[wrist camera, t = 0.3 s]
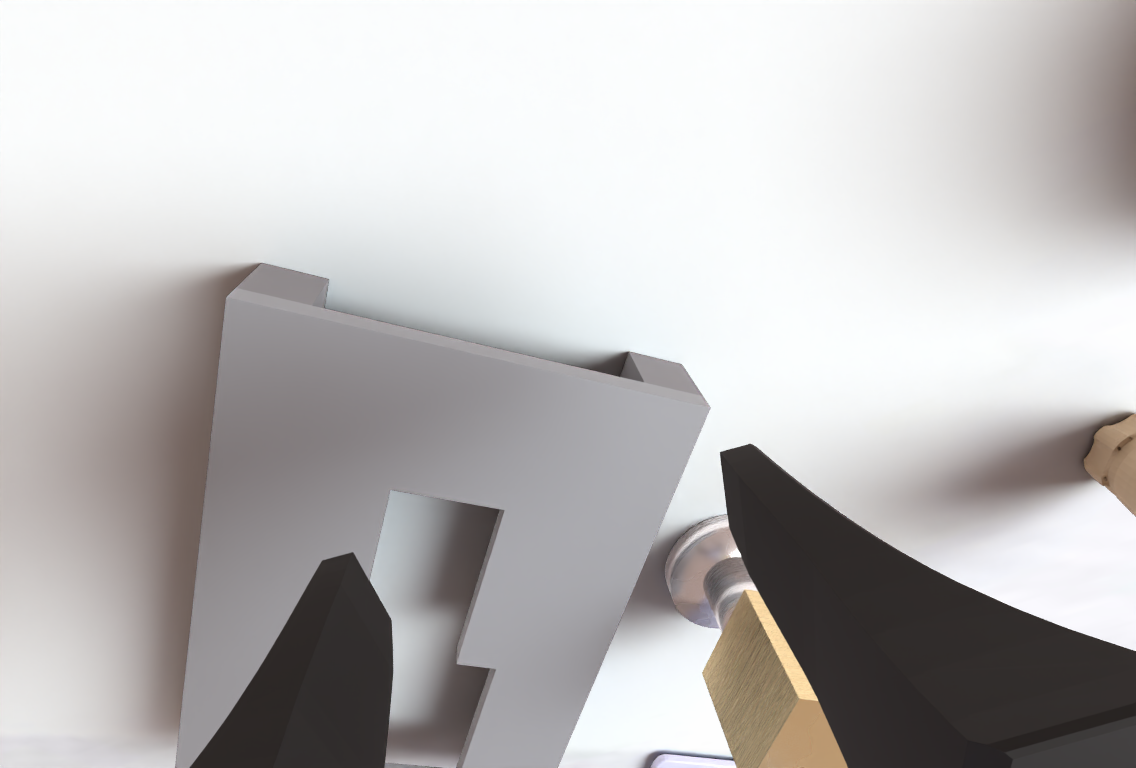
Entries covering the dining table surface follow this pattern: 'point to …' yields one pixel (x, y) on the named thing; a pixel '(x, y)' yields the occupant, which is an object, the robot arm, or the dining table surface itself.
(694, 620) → the keyhole peg
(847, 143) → the dining table surface
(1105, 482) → the handle
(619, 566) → the keyhole board
